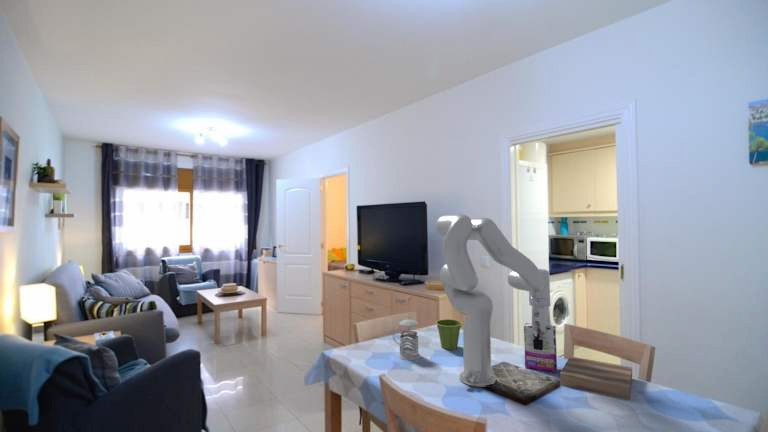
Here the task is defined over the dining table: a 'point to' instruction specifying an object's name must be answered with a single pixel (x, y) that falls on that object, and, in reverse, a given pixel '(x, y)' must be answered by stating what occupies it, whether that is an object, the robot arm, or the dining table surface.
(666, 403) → the dining table surface
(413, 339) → the french press
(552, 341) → the candy bar box
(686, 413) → the dining table surface
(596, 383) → the walnut stand
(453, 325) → the plant pot
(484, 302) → the robot arm
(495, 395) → the dining table surface
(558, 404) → the dining table surface
